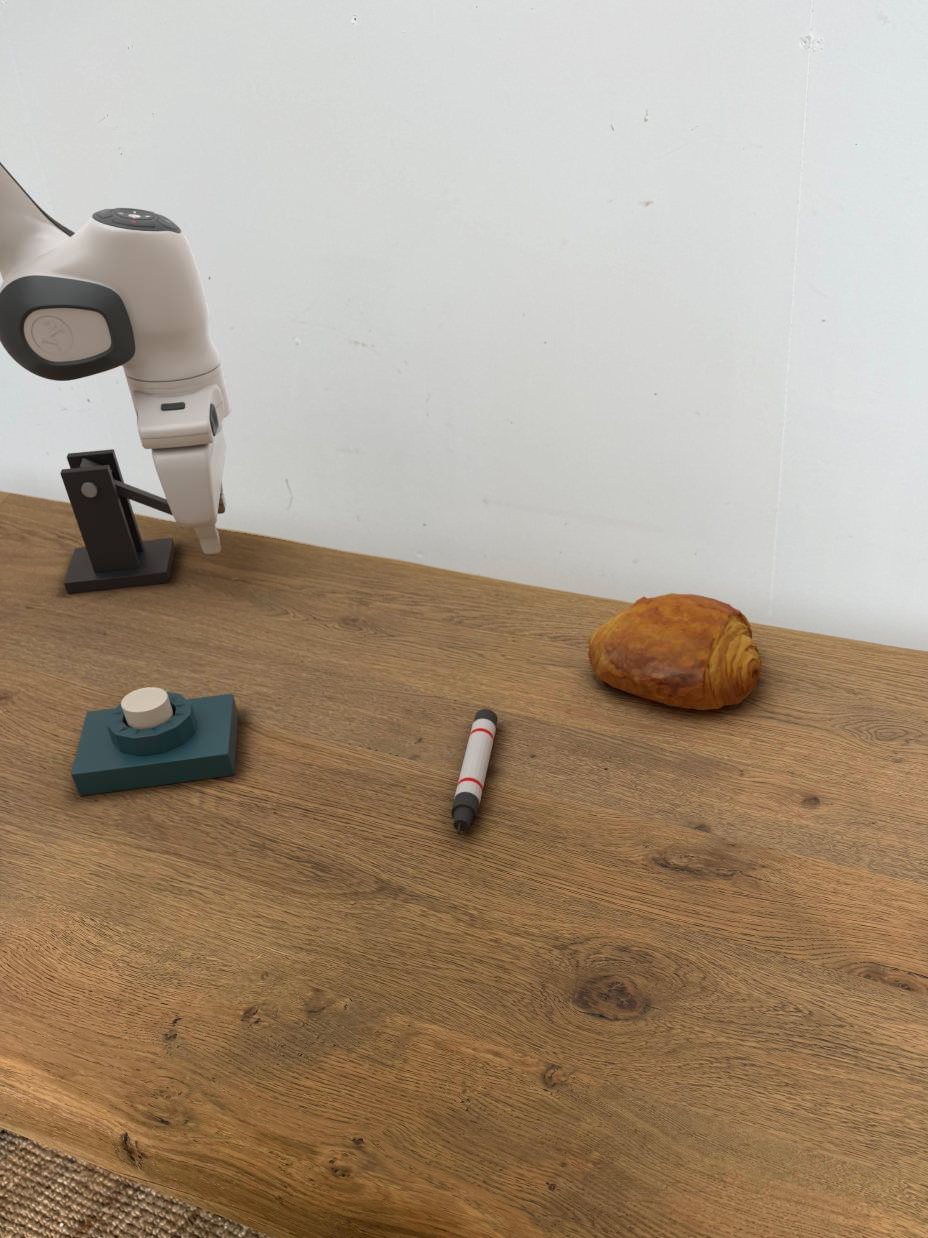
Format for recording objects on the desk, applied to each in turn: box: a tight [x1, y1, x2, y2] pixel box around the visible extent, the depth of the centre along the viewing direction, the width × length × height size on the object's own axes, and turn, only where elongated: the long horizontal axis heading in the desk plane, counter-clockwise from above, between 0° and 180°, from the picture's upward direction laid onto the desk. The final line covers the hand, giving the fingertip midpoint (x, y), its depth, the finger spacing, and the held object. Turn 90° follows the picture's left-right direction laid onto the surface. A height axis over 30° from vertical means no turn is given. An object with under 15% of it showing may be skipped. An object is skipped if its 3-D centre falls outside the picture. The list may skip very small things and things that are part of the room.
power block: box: [70, 691, 240, 797], centre depth 97 cm, size 12×9×4 cm
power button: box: [120, 686, 173, 729], centre depth 95 cm, size 4×4×2 cm
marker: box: [451, 708, 498, 836], centre depth 94 cm, size 15×2×2 cm, turn 178°
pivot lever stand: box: [59, 448, 176, 595], centre depth 119 cm, size 10×8×12 cm
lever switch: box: [79, 458, 173, 516], centre depth 119 cm, size 13×5×2 cm
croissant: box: [587, 592, 762, 711], centre depth 104 cm, size 14×16×8 cm
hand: (215, 530), depth 122 cm, fingers open, 8 cm apart
